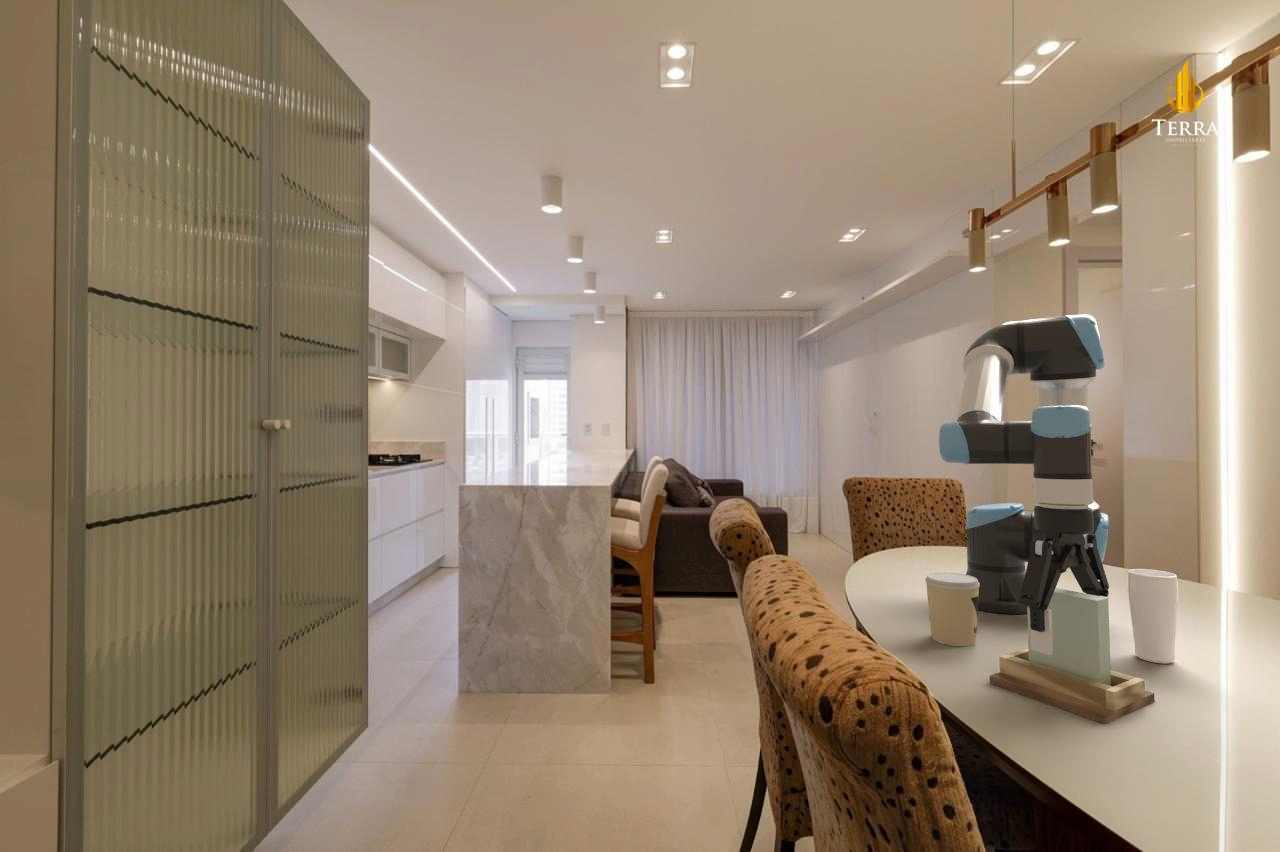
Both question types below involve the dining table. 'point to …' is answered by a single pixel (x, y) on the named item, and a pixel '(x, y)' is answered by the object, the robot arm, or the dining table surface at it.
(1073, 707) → the track board
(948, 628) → the coffee cup
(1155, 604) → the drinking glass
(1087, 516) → the robot arm
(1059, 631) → the door panel
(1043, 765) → the dining table surface
